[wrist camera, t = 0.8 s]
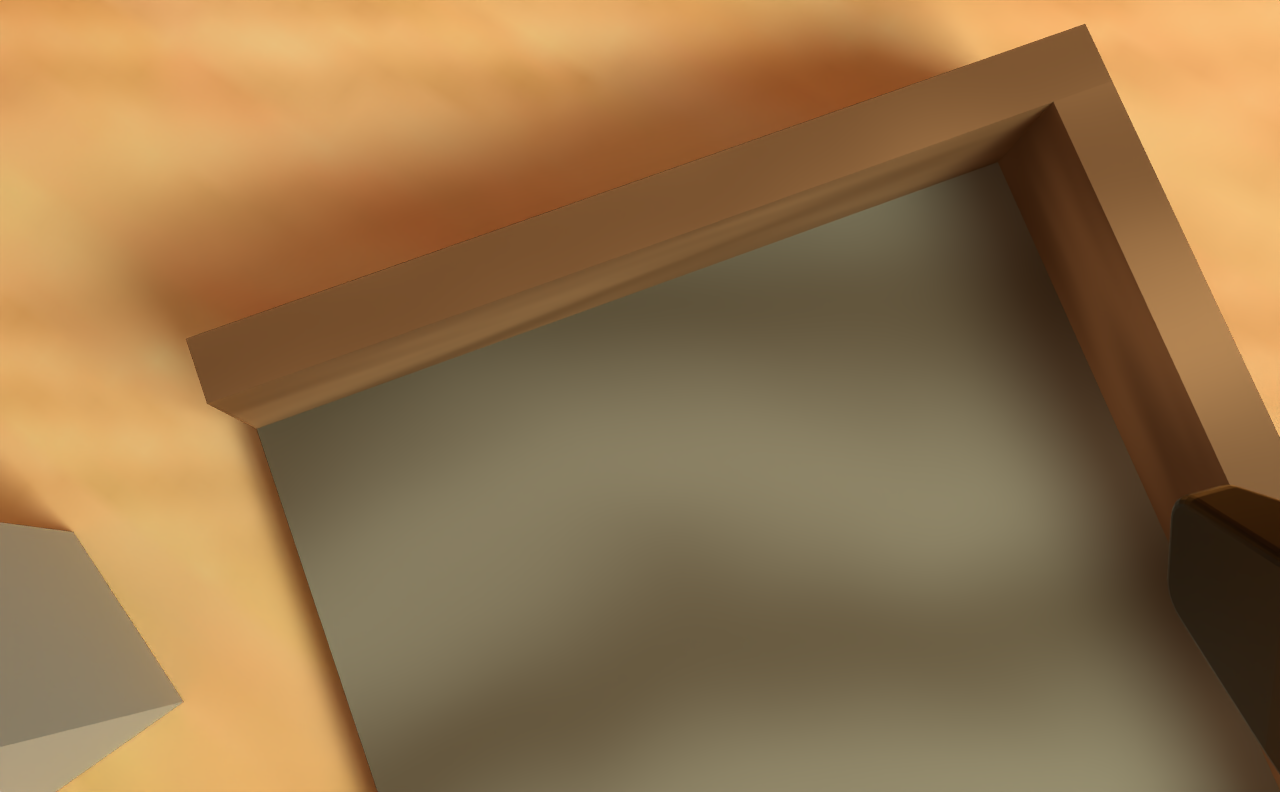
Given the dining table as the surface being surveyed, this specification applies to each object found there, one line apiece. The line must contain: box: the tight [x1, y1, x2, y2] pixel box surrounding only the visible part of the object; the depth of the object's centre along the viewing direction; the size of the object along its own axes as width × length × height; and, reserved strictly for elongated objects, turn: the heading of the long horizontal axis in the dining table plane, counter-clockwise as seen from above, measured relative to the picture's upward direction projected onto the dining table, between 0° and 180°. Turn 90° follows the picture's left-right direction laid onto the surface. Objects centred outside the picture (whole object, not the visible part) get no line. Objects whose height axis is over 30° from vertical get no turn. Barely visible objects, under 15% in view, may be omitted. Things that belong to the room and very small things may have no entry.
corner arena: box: [186, 24, 1280, 792], centre depth 22 cm, size 17×17×4 cm
